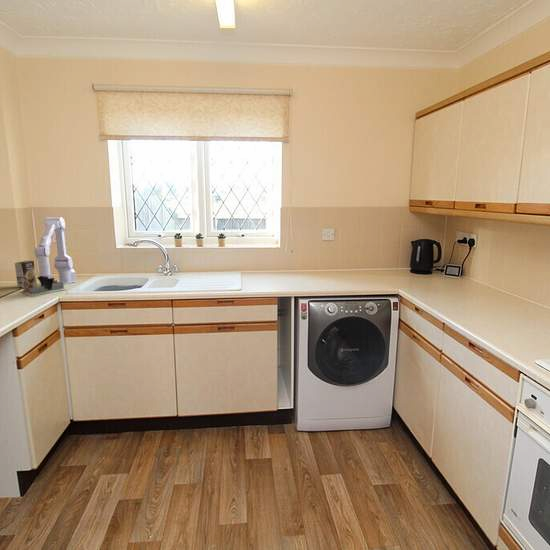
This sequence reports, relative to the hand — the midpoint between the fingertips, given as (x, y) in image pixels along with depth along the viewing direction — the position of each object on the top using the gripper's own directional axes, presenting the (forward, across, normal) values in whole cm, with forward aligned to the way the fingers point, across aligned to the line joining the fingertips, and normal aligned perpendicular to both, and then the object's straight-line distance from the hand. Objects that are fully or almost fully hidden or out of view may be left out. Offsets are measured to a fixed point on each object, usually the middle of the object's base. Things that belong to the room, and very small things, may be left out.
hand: (47, 288), depth 241 cm
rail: (+1, 0, 0) cm, 1 cm away
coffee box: (+2, -26, -2) cm, 26 cm away
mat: (+2, 0, 0) cm, 2 cm away
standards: (+2, -9, 0) cm, 9 cm away
